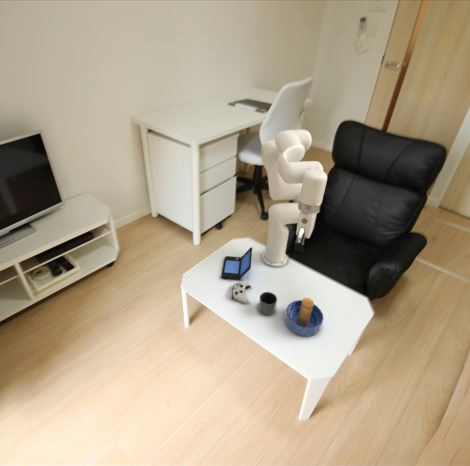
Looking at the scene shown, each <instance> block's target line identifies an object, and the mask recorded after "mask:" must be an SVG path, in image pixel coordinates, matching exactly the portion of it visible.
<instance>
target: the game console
mask: <svg viewBox="0 0 470 466" xmlns="http://www.w3.org/2000/svg"><path fill="white" fill-rule="evenodd" d="M252 257H253V247H252V246H251V247H249V249H248V250H247V251H246V252H245V253H244V254H243V255H242V256H230V255H225V257H224V259H223V265H222V270H221V275H220V278H221V279H223V280H230V281H238V282H240V281H242V280H241V279H242V278H243V277H244V276H245V275H246V274H247V273H248V272H249V271H250V270H251V269H252Z"/></svg>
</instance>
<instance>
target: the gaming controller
mask: <svg viewBox="0 0 470 466" xmlns="http://www.w3.org/2000/svg"><path fill="white" fill-rule="evenodd" d="M249 289H251V284H250V283H248V282H243V281H241V282H235V283H233V285H232V291H231V299H232V300H233V301H234V300H235V301H238V302H240V303H242V304H245V305H248V304H249V303H250V300H249V299H248V297H247V295H246V294H245V293H246V290H249Z"/></svg>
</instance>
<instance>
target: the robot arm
mask: <svg viewBox="0 0 470 466" xmlns="http://www.w3.org/2000/svg"><path fill="white" fill-rule="evenodd" d="M312 142H313V138H312V135H311V133H310V131H308V130H306V129H286V130H282V131H279V132H278V133H277V134H276V135H275V138H274V139H271V140H268V141H265V142H264V143H263V144H262V145H261V150H260V151H261V152H260V154H261V160H262V164H263V166H264V169H265V171H266V174H267V184H268V193H269V197H270V200H272V201H274V202H279V203H275V204H272V205H271V206H269V208H268V229H267V238H266V246H265V250H264V251H263V252H262V254H261V260H262V261H263V263H265V265H268V266H270V267H275V268H277V267H278V268H279V267H283V266H285V265H286V264H287V263H288V255H287V254H286V251H287V246H288V240H289V234H290V230H289V227H288V226H287V225H291V224H292V225H293V224H296V231H295V235H296V239H295V242H294V247H293V250H294V251H296V252H299V253H303V252H304V248H305V244H306V243H305V241H306V239H310V238H311V235H312V234H313V231H314V228H315V226H316V225H315V224H316V221H317V220H316V219H317V214H319V213H320V211H321V207H322V204H323V200H324V194H325V191H326V186H327V181H328V175H327V173H326V172H325V171H324V166H323V165H322V163H321V162H320V161H317V160H310V161H309V160H308V161H305V160H303V158H304V157H305V154H306V153H307V151H308V150H309V149H310V148H311V146H312ZM302 160H303V161H302ZM285 201H286V202H285ZM287 201H293V202H287Z"/></svg>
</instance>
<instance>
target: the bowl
mask: <svg viewBox="0 0 470 466" xmlns="http://www.w3.org/2000/svg"><path fill="white" fill-rule="evenodd" d="M302 300H303V299H298V300H294V301H292V302H290V303H289V304H288V305H287V307H286V310H285V314H284V323H285V326H286V327H287V328H288V329H289V331H291V333H293V334H295V335H297V336H300V337H304V338H308V337H313V336H315V335H317V334H318V333H319V332H320V331H321V329H322V325H323V322H324V314H323V312H322V310H321V309H320V308H319V306H318V305H316V304H315V303H314V305H313V309H312V312H311V316H310V320H309V323H308V325H307V326H305V327H303V326H300V325H299V324H298V323H297V319H298V315H299V311H300V307H301V303H302Z"/></svg>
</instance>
